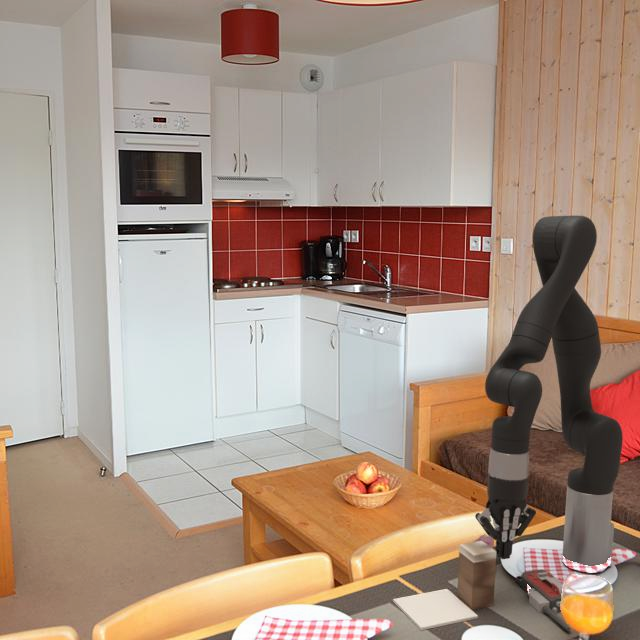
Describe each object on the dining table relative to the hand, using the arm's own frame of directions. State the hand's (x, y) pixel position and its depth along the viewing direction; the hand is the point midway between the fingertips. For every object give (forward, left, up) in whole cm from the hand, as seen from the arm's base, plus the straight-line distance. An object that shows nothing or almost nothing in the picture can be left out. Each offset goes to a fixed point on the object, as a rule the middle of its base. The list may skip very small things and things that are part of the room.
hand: (503, 557), depth 154 cm
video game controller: (-4, -14, -8) cm, 17 cm away
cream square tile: (+15, 0, -8) cm, 17 cm away
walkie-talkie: (-8, +6, -9) cm, 13 cm away
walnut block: (+6, 0, -8) cm, 10 cm away
